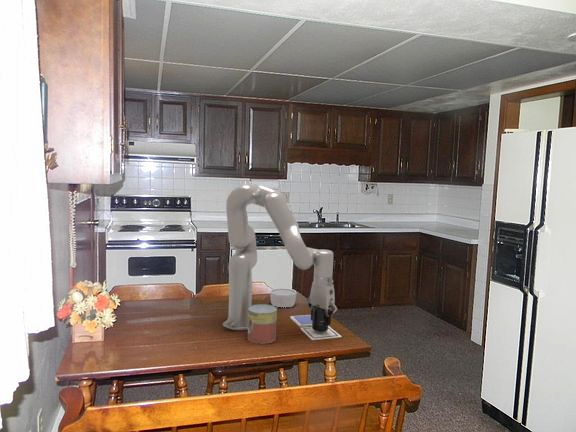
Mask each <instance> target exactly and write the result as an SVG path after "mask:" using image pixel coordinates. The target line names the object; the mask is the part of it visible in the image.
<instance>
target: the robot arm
mask: <svg viewBox="0 0 576 432" xmlns="http://www.w3.org/2000/svg"><path fill="white" fill-rule="evenodd" d="M287 201H288V200H287V197H286V195H285V194H284V193H282V192H281V191H280V190H279V191H278V190H275V189H271V188H268V187H265V186H263V185H260V184H256V183H243V184H240V185H238V186H236V187H235V188H233V190H231V192H230V193H228V196H227V198H226V206H225V207H226V209H225V210H226V220H227V221H226V222H227V223H226V225H227V234H228V242H229V245H230V246H231V247H232V248H234V249H235V253H233V254H232V256H231V257H230V259H229V262H228V282H229V283H228V284H229V285H228V316H227V319H226V320H225V321H224V322H222V326H223V327H224V328H225V329H228V330H233V331H248V312H249V310H248V308H249V307H250V306H252V302H253V300H252V296H253V294H252V293H253V275H252V271H253V268H254V267H255V266H256V265H257V262H258V249H257V240H256V232H255V230H254V228H253V227H252V226H251V225H249V220H248V217H249V216H248V211H247V207H248V206H249V205H256V206H259V207H262V208H265V210H266V212H267V214H268V216H269V218H270V219H271V221H272V223H273V225H274V226H275V228H276V229H277V231H278V233H279V235H280V238H281V240H282V242H283V245H284V247H285V249H286V251H287V254H288V255H289V257H290V259H291V260H292V261H293V263H294V265H295V266H296V268H298V269H300V270H303V271H305V270H308V269H310V268H311V267H312V266H313V281H312V283H311V289H310V294H309V297H308V298H307V299H306V302H307V304H308V307H309V311H310V315H311V320H312V319H313V308H314V307H315V306H316V305H319V306H320V308H322V309H324V310H325V314H326V316H325V319H324V325H325V326H327V325H329V326H330V325H331V323H332V322H331V321H332V316H333V315H334V314H335V312H337V310H338V307H337V306H336V304H335V302H336V301H335V300H336V299H335V287H334V279H333V272H334V271H333V270H334V269H333V268H334V252H333V251H332V250H331V249H330V250H329V249H318V248H313V247H308V246H306V244H305V243H304V240H303V238H302V236H301V233H300V227H299V224H298V223H299V222H298V221H297V219H296V217H295V216H294V215H293V213H292V210H291V208H290V207H289V205H288V204H287V203H288V202H287ZM319 306H316V307H319ZM328 311H329V312H328Z"/></svg>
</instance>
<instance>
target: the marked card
mask: <svg viewBox="0 0 576 432" xmlns="http://www.w3.org/2000/svg"><path fill="white" fill-rule="evenodd" d="M299 329H300V330H301V331H302V332H303V333H304V334H305V335H306V336H307V337H308V338H309V339H310V340H311V341H317V340H319V341H320V340H327V339H338V338H342V335H340V334H339V333H338V332H337V331H336V330H334V328H332V327H330V325H329V326H328V330H327V331H325V332H318V331H315V330H313V329H312V326H310V327H299Z"/></svg>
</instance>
